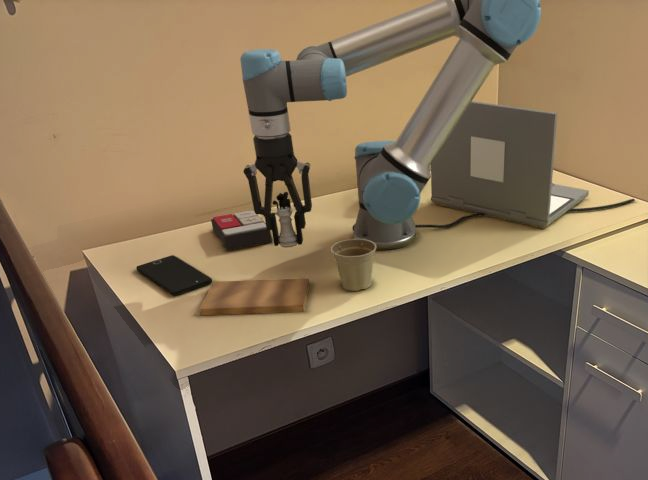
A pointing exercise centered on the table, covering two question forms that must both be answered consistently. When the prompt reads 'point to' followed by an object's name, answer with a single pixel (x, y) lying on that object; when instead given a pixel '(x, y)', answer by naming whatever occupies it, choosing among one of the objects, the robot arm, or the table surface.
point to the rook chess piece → (286, 229)
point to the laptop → (502, 166)
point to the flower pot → (354, 262)
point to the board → (256, 296)
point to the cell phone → (174, 275)
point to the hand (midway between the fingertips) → (288, 242)
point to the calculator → (241, 230)
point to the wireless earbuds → (282, 201)
